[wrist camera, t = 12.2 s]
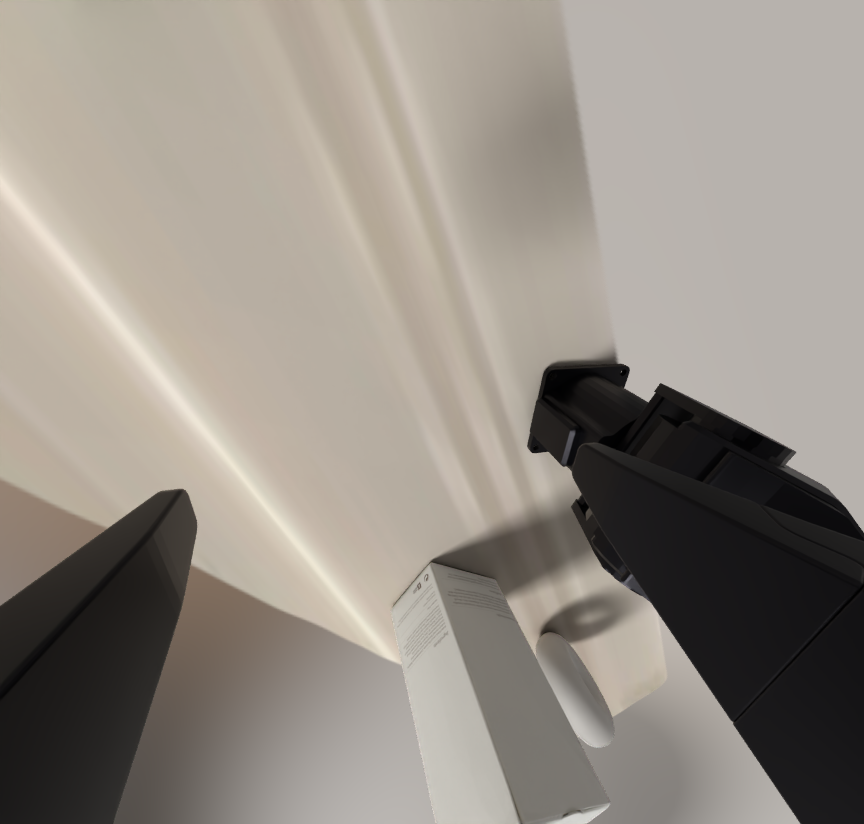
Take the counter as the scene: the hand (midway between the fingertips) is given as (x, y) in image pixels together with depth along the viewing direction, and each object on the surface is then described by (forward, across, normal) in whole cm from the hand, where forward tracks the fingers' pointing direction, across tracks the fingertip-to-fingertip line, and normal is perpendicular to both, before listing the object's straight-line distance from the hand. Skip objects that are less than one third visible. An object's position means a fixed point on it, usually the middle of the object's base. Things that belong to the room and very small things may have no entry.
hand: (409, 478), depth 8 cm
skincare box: (+13, -7, +24) cm, 28 cm away
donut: (+13, -20, +36) cm, 43 cm away
